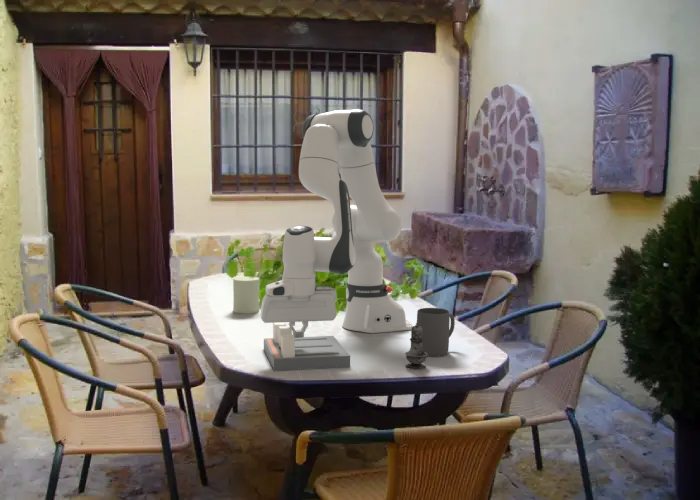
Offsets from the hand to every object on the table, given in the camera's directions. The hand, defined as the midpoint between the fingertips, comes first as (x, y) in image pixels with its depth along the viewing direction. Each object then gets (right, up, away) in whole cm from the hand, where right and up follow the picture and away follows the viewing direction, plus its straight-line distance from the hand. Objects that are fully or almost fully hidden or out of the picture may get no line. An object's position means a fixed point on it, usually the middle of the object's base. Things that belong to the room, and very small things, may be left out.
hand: (298, 337), depth 203 cm
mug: (+39, -5, +10) cm, 40 cm away
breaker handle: (-4, -2, 0) cm, 4 cm away
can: (-22, +2, +61) cm, 65 cm away
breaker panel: (+2, -6, +1) cm, 6 cm away
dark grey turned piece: (+31, -7, -6) cm, 33 cm away
